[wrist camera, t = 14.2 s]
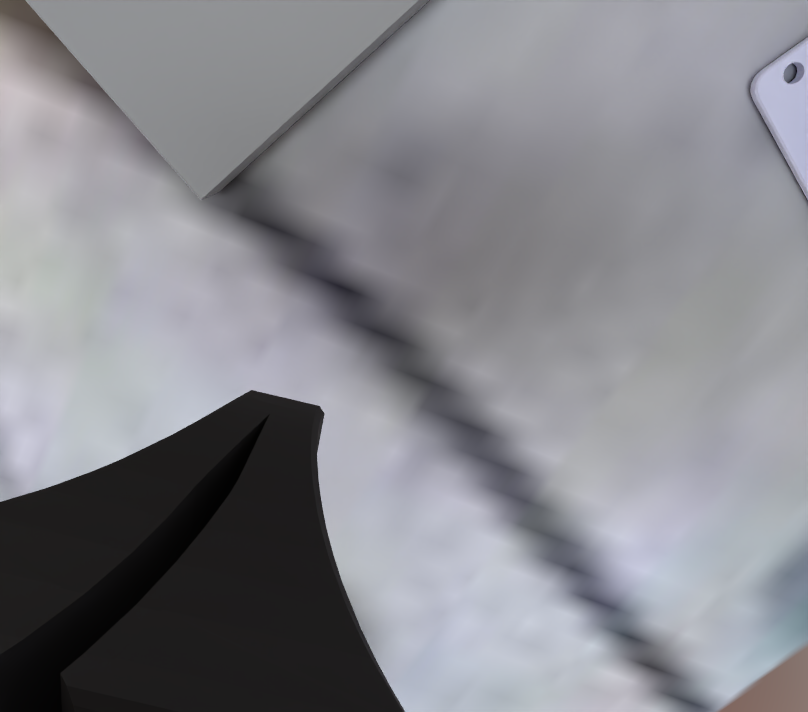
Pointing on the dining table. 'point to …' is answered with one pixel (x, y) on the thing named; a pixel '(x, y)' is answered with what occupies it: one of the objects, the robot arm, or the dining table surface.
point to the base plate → (219, 68)
